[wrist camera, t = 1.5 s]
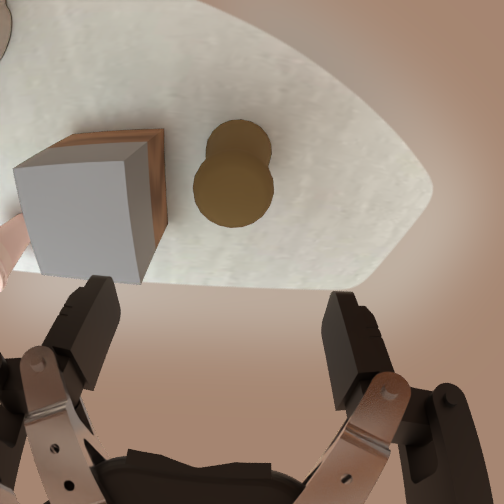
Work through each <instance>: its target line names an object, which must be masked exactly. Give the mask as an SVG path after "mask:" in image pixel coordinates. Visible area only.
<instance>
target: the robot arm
mask: <svg viewBox="0 0 504 504" xmlns="http://www.w3.org/2000/svg"><path fill="white" fill-rule="evenodd" d="M5 1H6V0H0V59H1V57H2V56H3V54H4V52H5V49H6V47H7V44H8V41H9V37H10V32H11V15H10V12H9V10H8V8H7V7H6V5H5ZM120 311H121V310H120V304H119V301H118V297H117V293H116V289H115V285H114V281H113V279H112V277H110V276H101V275H92V276H91V277H90V278H89V280H88V282H87V283H86V285H85V286H84V287H79V288H78V289H77V290H76V291H74V292H73V293H72V294H71V295H70V296H69V298H68V299H67V301H66V303H65V304H64V307H63V308H62V309H61V311H60V314H59V315H58V316H57V318H56V320H55V322H54V323H53V325H52V327H51V329H50V331H49V333H48V334H47V336H46V338H45V340H44V342H43V344H42V345H41V346H35V347H32V348H31V349H29V350H28V351H26V352H25V353H24V355H23V357H22V358H11V359H10V358H9V359H4V357H3V356H2V354H1V353H0V403H1V404H0V504H19V502H18V501H17V498H16V495H15V493H14V492H13V491H14V486H15V481H16V476H17V472H18V467H19V463H20V459H21V455H22V451H23V447H24V444H25V440H26V437H28V440H29V444H30V447H31V451H32V454H33V457H34V461H35V463H36V466H37V470H38V473H39V475H40V478H41V481H42V483H43V486H44V489H45V492H46V494H47V496H48V499H49V500H48V501H47V502H45V503H44V504H364V503H365V501H366V499H367V498H368V496H369V494H370V492H371V491H372V489H373V487H374V485H375V484H376V482H377V480H378V478H379V476H380V474H381V472H382V470H383V469H384V467H385V465H386V463H387V461H388V459H389V456H390V450H389V445H390V443H396V444H398V447H399V454H400V460H401V466H402V472H403V480H404V487H405V495H406V503H407V504H493V498H492V493H491V487H490V483H489V478H488V473H487V469H486V465H485V461H484V457H483V453H482V449H481V446H480V442H479V438H478V435H477V432H476V428H475V425H474V422H473V419H472V415H471V412H470V409H469V406H468V403H467V400H466V398H465V395H464V393H463V392H462V391H461V390H460V389H459V388H458V387H457V386H455V385H453V384H450V383H443V384H440V385H438V386H437V387H436V389H435V390H434V391H428V390H422V389H417V388H412V387H410V386H409V384H408V382H407V381H406V380H405V379H404V378H403V377H402V376H401V375H399V374H397V373H395V372H394V369H393V366H392V364H391V361H390V358H389V355H388V352H387V349H386V347H385V344H384V341H383V339H382V338H381V333H380V331H379V329H378V325H377V322H376V320H375V317H374V315H373V314H372V313H371V312H370V311H369V310H368V309H367V307H366V306H358V303H357V300H356V298H355V295H354V293H353V292H344V291H343V292H342V291H333V292H332V293H331V295H330V298H329V301H328V305H327V308H326V311H325V314H324V318H323V321H322V329H321V334H322V340H323V345H324V350H325V355H326V360H327V366H328V371H329V376H330V381H331V387H332V392H333V398H334V404H335V409H336V411H337V410H346V414H347V418H346V420H345V421H344V423H343V424H342V426H341V428H340V430H339V431H338V432H337V434H336V436H335V437H334V439H333V440H332V442H331V443H330V445H329V446H328V448H327V449H326V451H325V452H324V453H323V455H322V456H321V458H320V459H319V460H318V462H317V463H316V464H315V466H314V467H313V468H312V469H311V471H310V472H309V473H308V475H307V476H306V477H305V479H304V480H303V481H302V483H301V482H299V481H298V480H296V479H294V478H293V477H290V476H288V475H286V474H283V473H280V472H277V471H273V470H271V463H238V462H234V463H229V464H222V465H216V466H210V467H202V468H196V467H192V466H189V465H186V464H184V463H181V462H178V461H176V460H173V459H170V458H168V457H165V456H163V455H159V454H153V453H147V452H141V451H136V450H131V449H128V452H127V456H123V457H116V458H112V459H110V457H109V455H108V453H107V452H106V450H105V449H104V447H103V446H102V444H101V442H100V441H99V439H98V437H97V435H96V432H95V430H94V428H93V425H92V423H91V420H90V418H89V416H88V413H87V410H86V408H85V405H84V403H83V400H82V398H81V393H82V390H83V389H87V390H91V391H94V388H95V385H96V382H97V379H98V376H99V373H100V371H101V368H102V365H103V362H104V359H105V357H106V354H107V352H108V349H109V346H110V344H111V341H112V339H113V336H114V334H115V331H116V329H117V326H118V324H119V321H120V314H121V312H120Z"/></svg>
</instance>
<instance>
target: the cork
mask: <svg viewBox="0 0 504 504" xmlns="http://www.w3.org/2000/svg"><path fill="white" fill-rule="evenodd" d="M271 154H272V153H271V143H270V140H269V138H268V136H267V134H266V133H265V132H264V131H263V129H262V128H261V127H259V126H258V125H256V124H254V123H253V122H250V121H246V120H241V119H240V120H230V121H228V122H225V123H223V124H221V125H219V126H218V127H217V128H216V129H215V130H214V131H213V132H212V134H211V135H210V137H209V139H208V141H207V146H206V160H205V161H204V162H203V163H202V164H201V166H200V168H199V169H198V171H197V173H196V175H195V178H194V183H193V192H194V198H195V203H196V205H197V206H198V208H199V210H200V212H201V213H202V214H203V215H204V216H205V217H206V218H207V219H208V220H210V221H212V222H214V223H215V224H217V225H219V226H224V227H229V228H235V227H244V226H247V225H249V224H252V223H254V222H255V221H257V220H258V219H259V218H261V217H262V216H263V215H264V213H265V212H266V211H267V209H268V208H269V206H270V204H271V201H272V198H273V194H274V186H273V178H272V176H271V173H270V171H269V168H268V165H269V161H270V158H271Z"/></svg>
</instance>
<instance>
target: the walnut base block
mask: <svg viewBox="0 0 504 504" xmlns="http://www.w3.org/2000/svg"><path fill="white" fill-rule="evenodd" d="M122 142H147V146H148V166H149V183H150V196H151V208H152V219H153V229H154V239H155V247H156V248H157V246H158V244H159V242H160V239H161V237H162V235H163V233H164V231H165V229H166V226H167V224H168V218H167V203H166V184H165V160H164V129H139V130H119V131H104V132H92V133H81V134H72V135H70V136H68V137H67V138H65V139H63V140H61V141H59V142H57V143H55V144H53V145H52V146H50V147H48V148H56V147H65V146H76V145H89V144H103V143H122ZM46 149H47V148H46Z"/></svg>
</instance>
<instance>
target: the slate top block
mask: <svg viewBox="0 0 504 504" xmlns="http://www.w3.org/2000/svg"><path fill="white" fill-rule="evenodd" d="M13 173H14V178H15V183H16V188H17V192H18V196H19V201H20V205H21V209H22V213H23V217H24V220H25V224H26V227H27V231H28V234H29V238H30V241H31V244H32V247H33V250H34V254H35V257H36V259H37V262H38V265H39V268H40V271H41V274H42V275H48V276H57V277H66V278H74V279H84V280H89V278H90V277H91V276H92V275H101V276H110V277H112V279H113V281H114V283H125V284H136V285H141V283H142V281H143V278H144V276H145V274H146V271H147V269H148V267H149V264H150V262H151V260H152V257H153V255H154V253H155V251H156V247H155V239H154V229H153V219H152V208H151V196H150V183H149V166H148V146H147V142H122V143H103V144H89V145H76V146H65V147H56V148H47V149H44V150H43V151H41V152H39V153H37V154H36V155H34V156H32V157H31V158H29V159H27V160H26V161H24V162H22V163H21V164H19V165H18V166H16V167H14V168H13Z"/></svg>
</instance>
